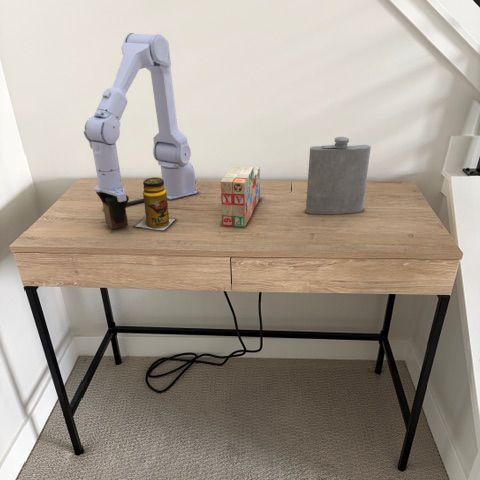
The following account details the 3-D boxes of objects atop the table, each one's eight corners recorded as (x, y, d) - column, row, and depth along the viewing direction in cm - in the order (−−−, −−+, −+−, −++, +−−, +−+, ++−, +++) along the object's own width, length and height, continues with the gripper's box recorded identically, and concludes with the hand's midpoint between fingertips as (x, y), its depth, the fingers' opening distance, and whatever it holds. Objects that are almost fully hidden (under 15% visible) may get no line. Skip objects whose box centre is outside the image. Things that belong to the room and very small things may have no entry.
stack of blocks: (239, 196, 152) (239, 155, 145) (260, 198, 150) (260, 156, 143) (221, 225, 134) (220, 180, 127) (244, 227, 133) (244, 182, 126)
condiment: (164, 230, 132) (159, 186, 125) (135, 227, 134) (128, 183, 128) (175, 220, 138) (171, 176, 131) (147, 216, 140) (141, 173, 133)
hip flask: (360, 207, 144) (370, 134, 132) (364, 213, 140) (374, 139, 129) (304, 209, 143) (309, 136, 131) (307, 215, 140) (312, 140, 128)
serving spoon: (152, 196, 152) (151, 193, 152) (158, 201, 149) (158, 198, 149) (102, 208, 145) (101, 205, 145) (108, 213, 142) (107, 210, 142)
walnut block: (121, 219, 137) (118, 198, 134) (128, 225, 134) (124, 203, 130) (106, 223, 135) (102, 202, 132) (112, 229, 132) (108, 207, 128)
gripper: (82, 163, 129) (91, 213, 137) (103, 179, 119) (112, 232, 127) (108, 158, 132) (116, 207, 140) (131, 173, 122) (138, 225, 130)
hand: (116, 219), depth 134 cm, fingers closed on walnut block, 4 cm apart
